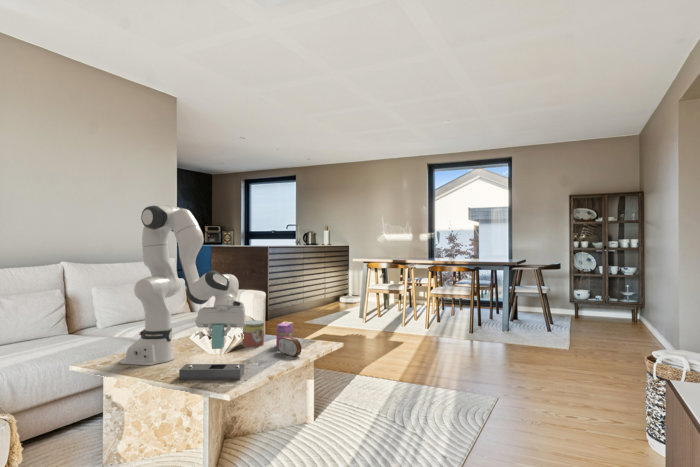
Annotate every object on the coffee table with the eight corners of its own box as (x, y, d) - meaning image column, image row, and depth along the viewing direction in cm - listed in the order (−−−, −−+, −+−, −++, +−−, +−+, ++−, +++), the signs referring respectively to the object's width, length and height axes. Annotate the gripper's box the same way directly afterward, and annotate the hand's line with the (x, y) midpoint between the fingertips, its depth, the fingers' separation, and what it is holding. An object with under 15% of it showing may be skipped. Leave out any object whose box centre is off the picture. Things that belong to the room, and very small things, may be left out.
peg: (211, 348, 170) (211, 326, 170) (214, 346, 174) (214, 324, 174) (221, 348, 170) (221, 326, 170) (224, 346, 174) (224, 324, 174)
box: (286, 348, 218) (286, 325, 219) (276, 347, 219) (276, 325, 220) (293, 343, 229) (293, 321, 229) (283, 343, 230) (283, 321, 230)
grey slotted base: (179, 380, 167) (179, 368, 167) (185, 373, 175) (186, 363, 175) (240, 379, 168) (240, 368, 169) (244, 373, 176) (244, 362, 177)
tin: (301, 357, 202) (302, 339, 203) (296, 358, 200) (297, 340, 200) (281, 351, 212) (282, 334, 213) (276, 352, 210) (277, 335, 210)
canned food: (249, 348, 217) (249, 325, 217) (238, 344, 226) (238, 322, 226) (267, 345, 225) (268, 322, 225) (257, 341, 233) (257, 319, 233)
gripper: (198, 302, 179) (190, 330, 169) (246, 303, 180) (241, 330, 170) (201, 311, 183) (193, 339, 173) (248, 311, 184) (243, 339, 174)
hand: (217, 335), depth 172 cm, fingers closed on peg, 4 cm apart
